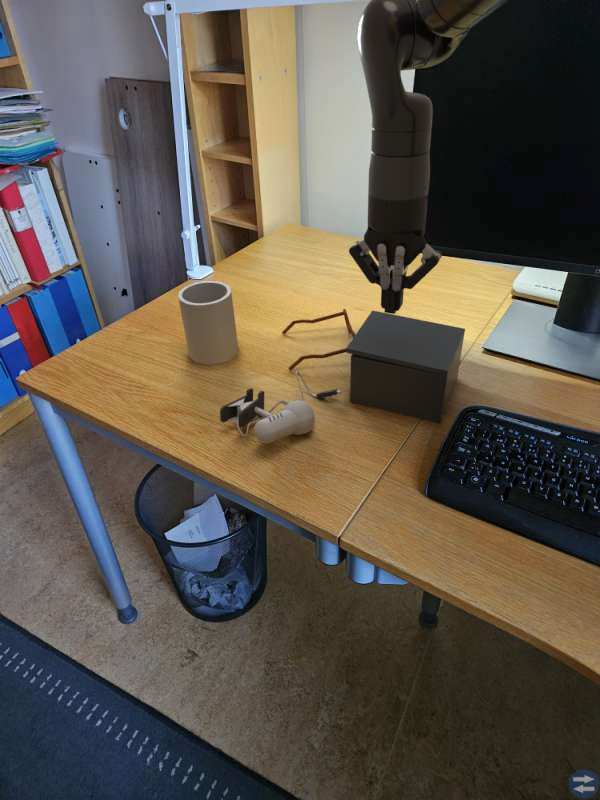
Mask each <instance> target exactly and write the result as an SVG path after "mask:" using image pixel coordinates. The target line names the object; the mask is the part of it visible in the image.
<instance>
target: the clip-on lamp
mask: <svg viewBox="0 0 600 800" xmlns="http://www.w3.org/2000/svg"><path fill="white" fill-rule="evenodd" d="M295 377H296V381H297V384H298V388H299V391H300V396H301V400H300V399H298V400H292V401H286V400H282V399H281V400H278V401H277V402H276V403H275V404H274V405H273V406H272V407H271V408H270V409H269V410H268V411H266V410H265V390H260V391H259V392H258V393H257V398H256V399H254V388H250V387H249V388H247V390H246V393H245V394H246V395H244V396H241V397H239V398H237V399H235V400H233V401H230V402H229V403H227V404H224V405H223V406H221V407H220V409H219V421H220V422H221V423H227V422H230V421H231V422H232V421H236V428H237V430H238V432H239V434H240V435H241V436H242V437H243V438H245V437H247V436H248V432H249V427H250V426H253V425H254V428H253V432H254V436H255V438H256V439H257V440H258V441H259V442H260V443H262V444H269V443H272V442H275V441H277V440H279V439H282V438H284V437H287V436H288V435H289V436H290V435H295V436H296V435H297V436H299V435H304V434H305V435H306V434H307V433H308V432H310V431H311V430H312V429H313V427H314V425H315V422H316V416H315V412H314V410H313V408H312V406H311V405H310V404H309V403H308V402H307V401H305V400H304V394H303V390H302V387H301V384H300V380H301V382H302V384H303V385H304V387H305V389H306V391H307V392H308V393H309V395H310V396H312V397H314V398H317V399H321V398H323V399H325V398H328V397H330V398H332V396H337V395H338V394H342V393H343V391H342V390H339V389H337V388H336V389H331V390H326V391H321V392H320V391H319V392H318V393H313V392H312V390H311V389H310V388H309V386H308V384H307V383H306V381H305V380H304V377H303V375H302V374H301V373H300V371H299V370H296V371H295ZM299 378H300V380H299ZM280 404H282V405H285V406H284V408H283V409H282V410H281V411H278V412H276V413H274V414H272V412H273V411H274V410H275V408H277V407H278V406H279V405H280ZM256 417H258V418H257V419H256V420H254V419H255V418H256ZM253 420H254V421H253ZM246 426H247V427H246ZM244 427H246V432H245V434H244V433H243V432H242V430H241V429H240V428H242V429H243V428H244Z"/></svg>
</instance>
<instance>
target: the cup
mask: <svg viewBox="0 0 600 800" xmlns="http://www.w3.org/2000/svg"><path fill="white" fill-rule="evenodd" d="M232 293H233V292H232V288H231V286H230V285H228V284H227V283H225V282H222V281H217V280H204V281H202V280H201V281H197V282H193V283H190V284H188V285H186V286H184V287H183V288H181V289H180V290H179V292H178V293H177V299H178V304H179V308H180V315H181V321H182V325H183V330H184V336H185V341H186V347H187V351H188V356H189V359H190V360H191V361H193V362H194V363H195V364H198V365H203V366H215V365H216V366H217V365H221V364H224V363H227V362H229V361H231V360H232V359H234V358H235V357H236V356H237V355H238V353H239V343H238V334H237V325H236V317H235V308H234V302H233V295H232Z"/></svg>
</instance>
